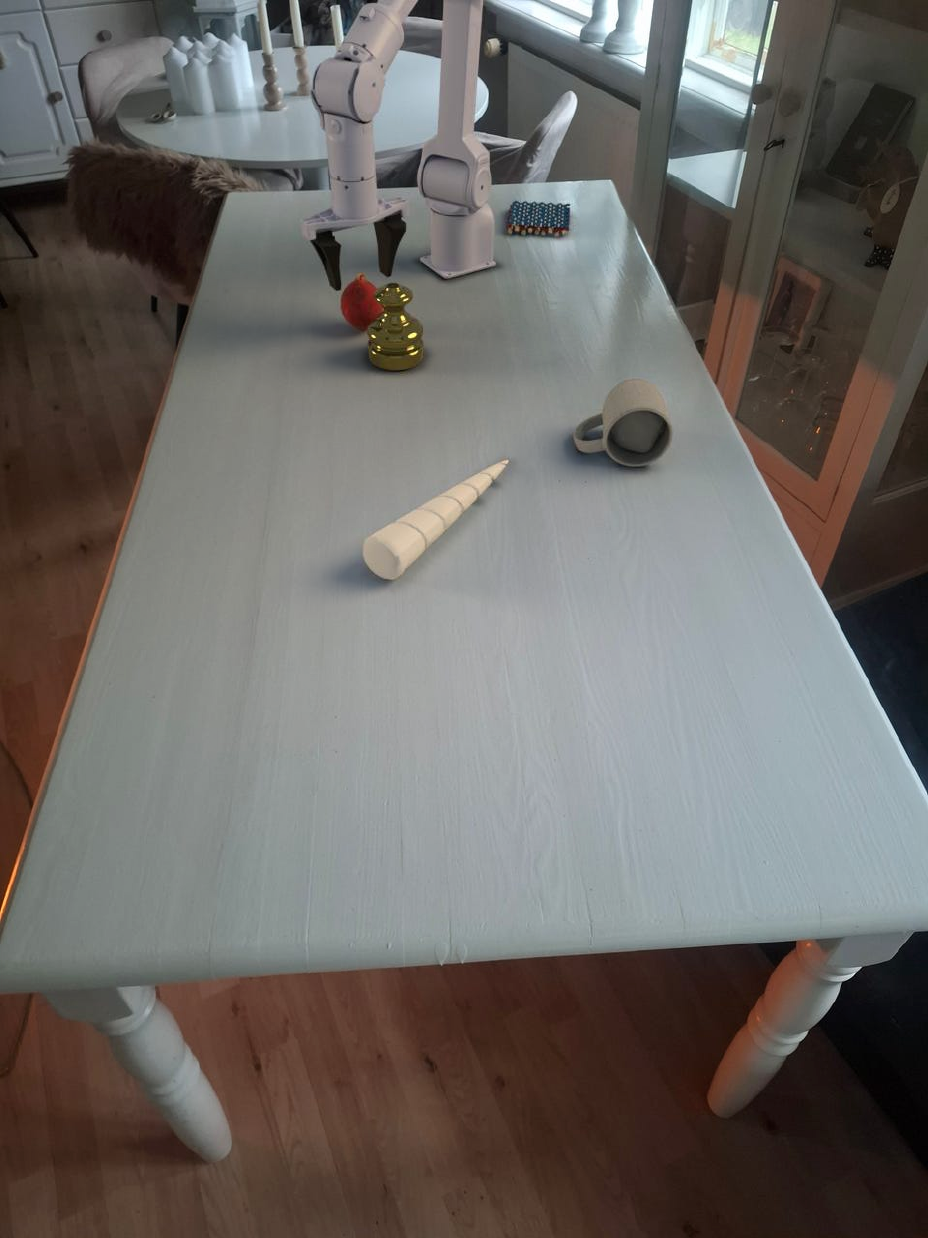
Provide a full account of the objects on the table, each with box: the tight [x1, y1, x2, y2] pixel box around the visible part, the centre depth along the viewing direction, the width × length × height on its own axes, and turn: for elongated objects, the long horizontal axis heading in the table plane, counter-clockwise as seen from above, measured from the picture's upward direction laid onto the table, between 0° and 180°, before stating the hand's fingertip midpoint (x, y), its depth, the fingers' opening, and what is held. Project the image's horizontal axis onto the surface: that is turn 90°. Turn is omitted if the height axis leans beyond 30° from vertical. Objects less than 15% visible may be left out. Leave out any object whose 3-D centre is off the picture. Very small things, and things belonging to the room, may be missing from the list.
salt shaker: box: [366, 282, 424, 372], centre depth 112 cm, size 7×7×10 cm
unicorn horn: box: [362, 459, 510, 581], centre depth 91 cm, size 5×24×5 cm, turn 142°
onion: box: [340, 272, 384, 331], centre depth 118 cm, size 6×6×8 cm
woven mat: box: [506, 200, 571, 238], centre depth 147 cm, size 10×11×2 cm
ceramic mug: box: [573, 378, 674, 468], centre depth 100 cm, size 11×8×8 cm
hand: (360, 280), depth 116 cm, fingers open, 7 cm apart
